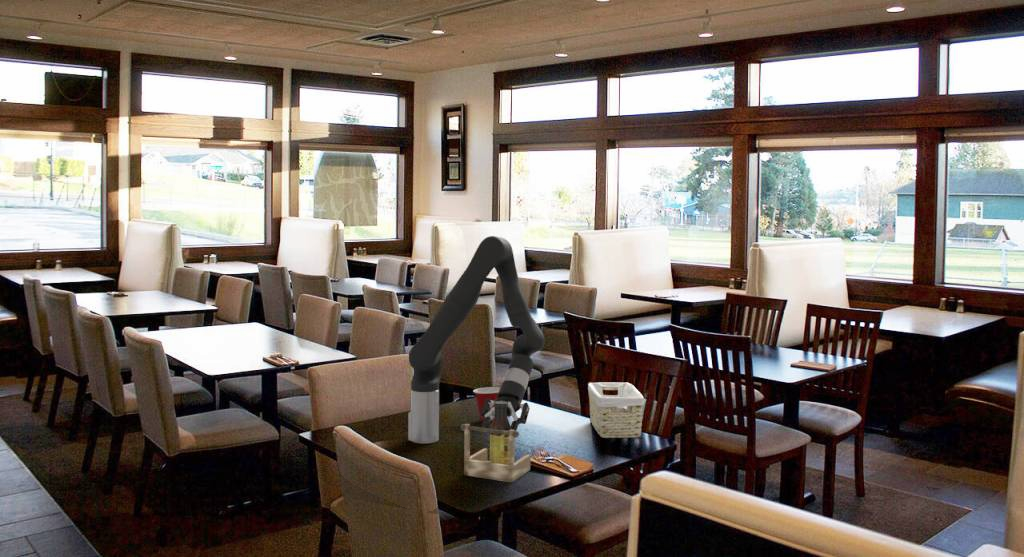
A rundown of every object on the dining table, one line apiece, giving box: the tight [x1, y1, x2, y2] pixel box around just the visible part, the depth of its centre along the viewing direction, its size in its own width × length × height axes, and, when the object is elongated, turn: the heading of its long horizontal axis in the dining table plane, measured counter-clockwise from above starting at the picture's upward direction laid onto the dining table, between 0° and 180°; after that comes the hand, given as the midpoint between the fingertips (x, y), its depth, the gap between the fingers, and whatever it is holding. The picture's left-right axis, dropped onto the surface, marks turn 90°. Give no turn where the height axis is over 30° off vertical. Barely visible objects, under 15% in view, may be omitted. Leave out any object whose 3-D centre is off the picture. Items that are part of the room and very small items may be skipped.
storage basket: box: [587, 381, 645, 439], centre depth 306 cm, size 24×16×15 cm
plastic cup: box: [472, 386, 500, 423], centre depth 315 cm, size 11×11×12 cm
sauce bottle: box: [489, 401, 511, 465], centre depth 257 cm, size 6×6×20 cm
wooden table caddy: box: [460, 423, 531, 483], centre depth 256 cm, size 18×14×15 cm
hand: (497, 432), depth 256 cm, fingers open, 8 cm apart
